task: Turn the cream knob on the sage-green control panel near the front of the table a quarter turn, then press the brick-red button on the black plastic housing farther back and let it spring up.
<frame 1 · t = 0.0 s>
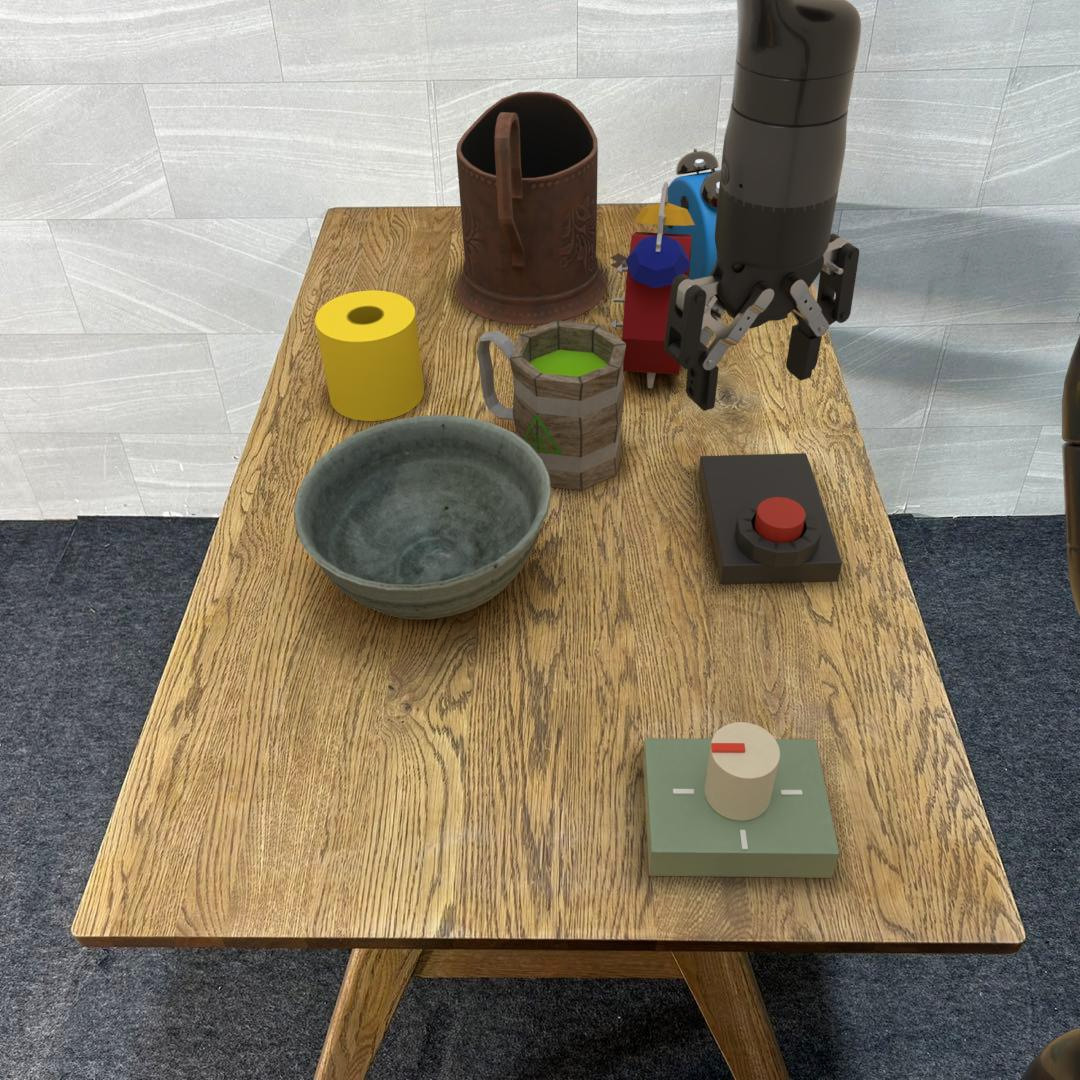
hand: (750, 389, 78), 19 cm above the table, tool pointing down, fingers open, 8 cm apart
alarm clock: (700, 284, 127), on the table
dial panel: (732, 817, 72), on the table
start button: (779, 519, 88), point 4 cm above the table, slide at 0.1 cm
button box: (764, 524, 94), on the table
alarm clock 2: (643, 364, 114), on the table
mug: (548, 449, 104), on the table
bowl: (433, 580, 90), on the table
dial knob: (741, 770, 68), point 6 cm above the table, hinge at 0.0°
yellow toilet paper roll: (377, 394, 111), on the table
tea glass holder: (528, 297, 126), on the table
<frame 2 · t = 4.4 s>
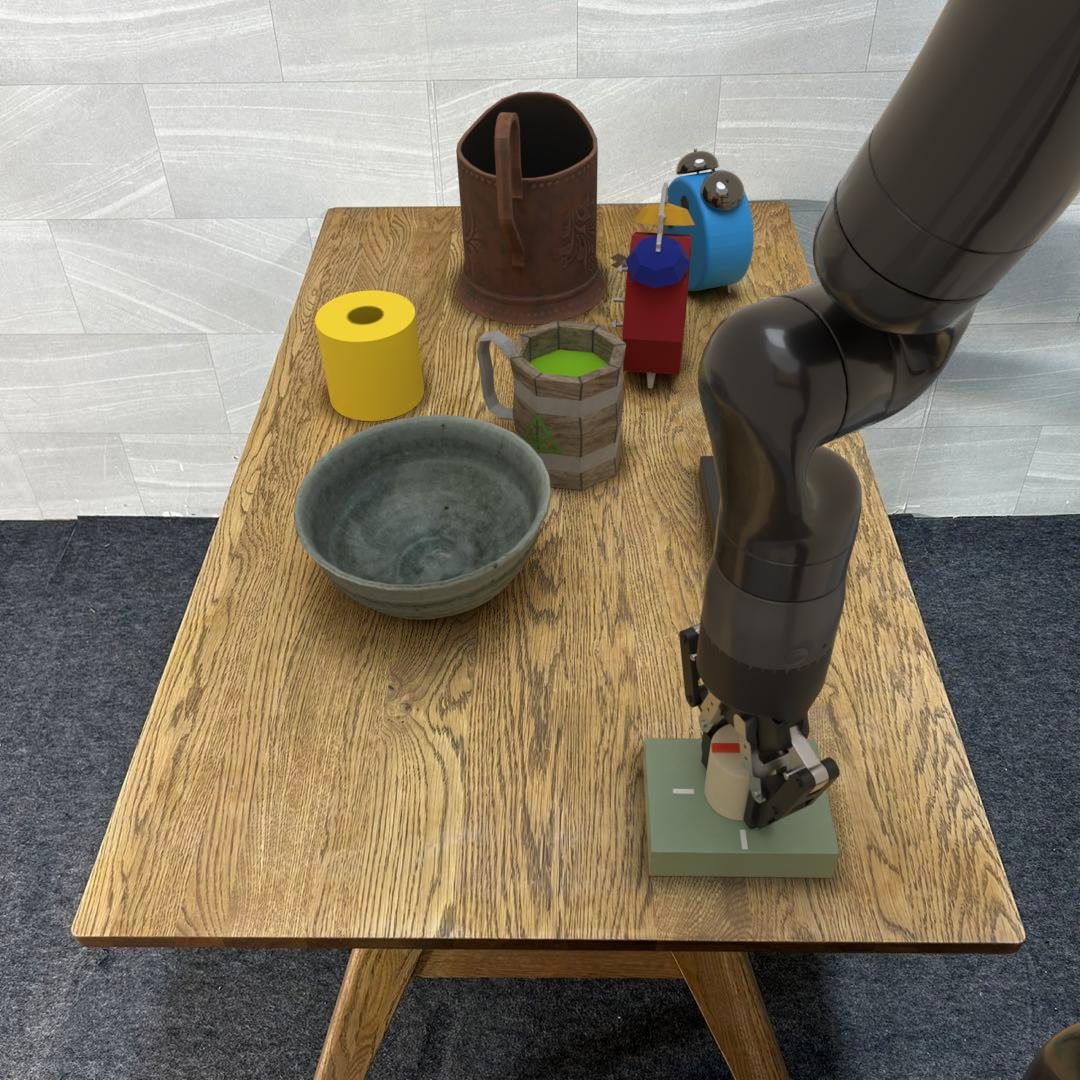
hand: (737, 789, 70), 3 cm above the table, tool pointing down, fingers closed on dial knob, 4 cm apart
dial knob: (741, 770, 68), point 6 cm above the table, hinge at 0.0°, touching gripper
everything else where it was.
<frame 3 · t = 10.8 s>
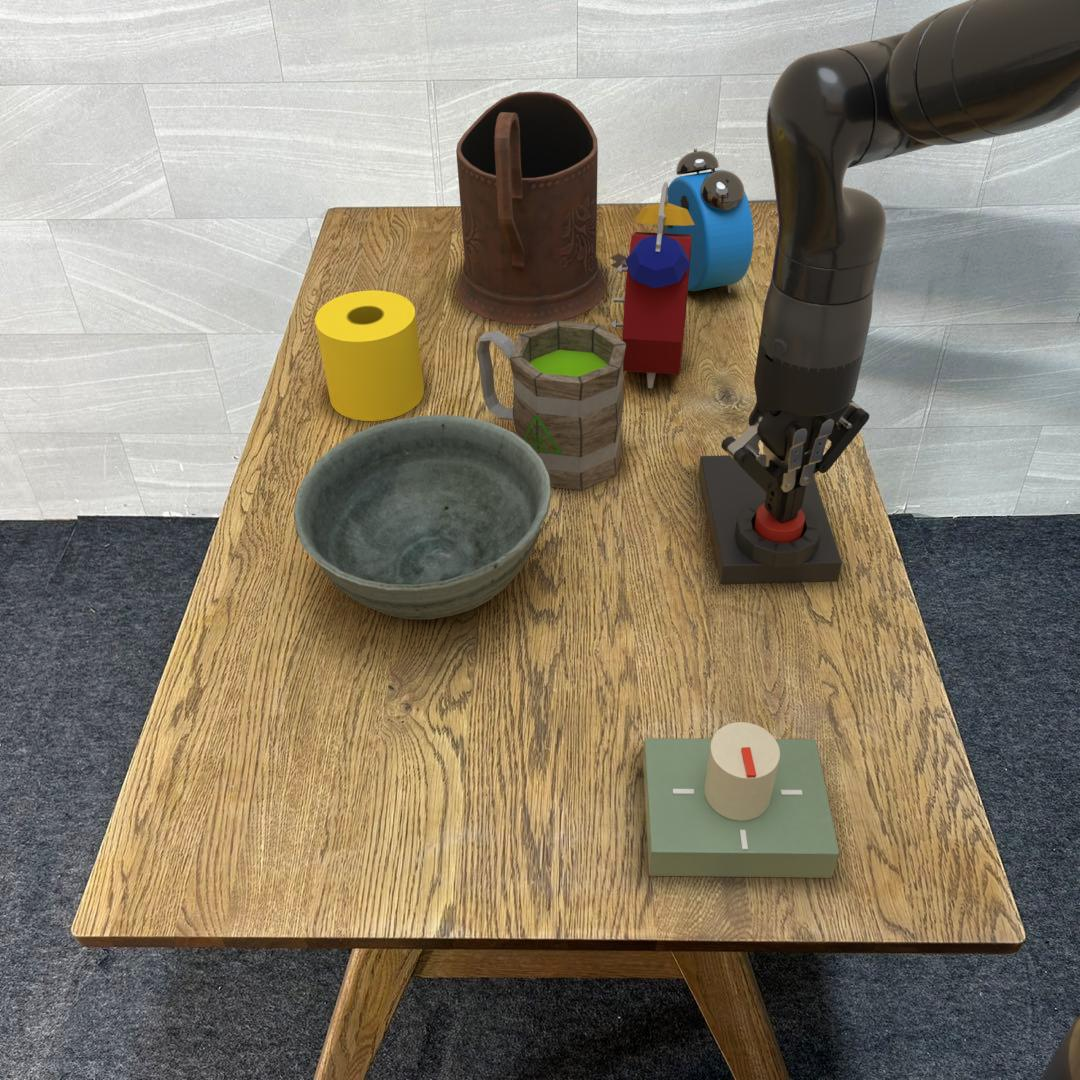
hand: (781, 515, 88), 5 cm above the table, tool pointing down, fingers closed
start button: (779, 523, 88), point 4 cm above the table, slide at -0.3 cm, touching gripper
dial knob: (741, 770, 68), point 6 cm above the table, hinge at 93.5°
everything else where it was.
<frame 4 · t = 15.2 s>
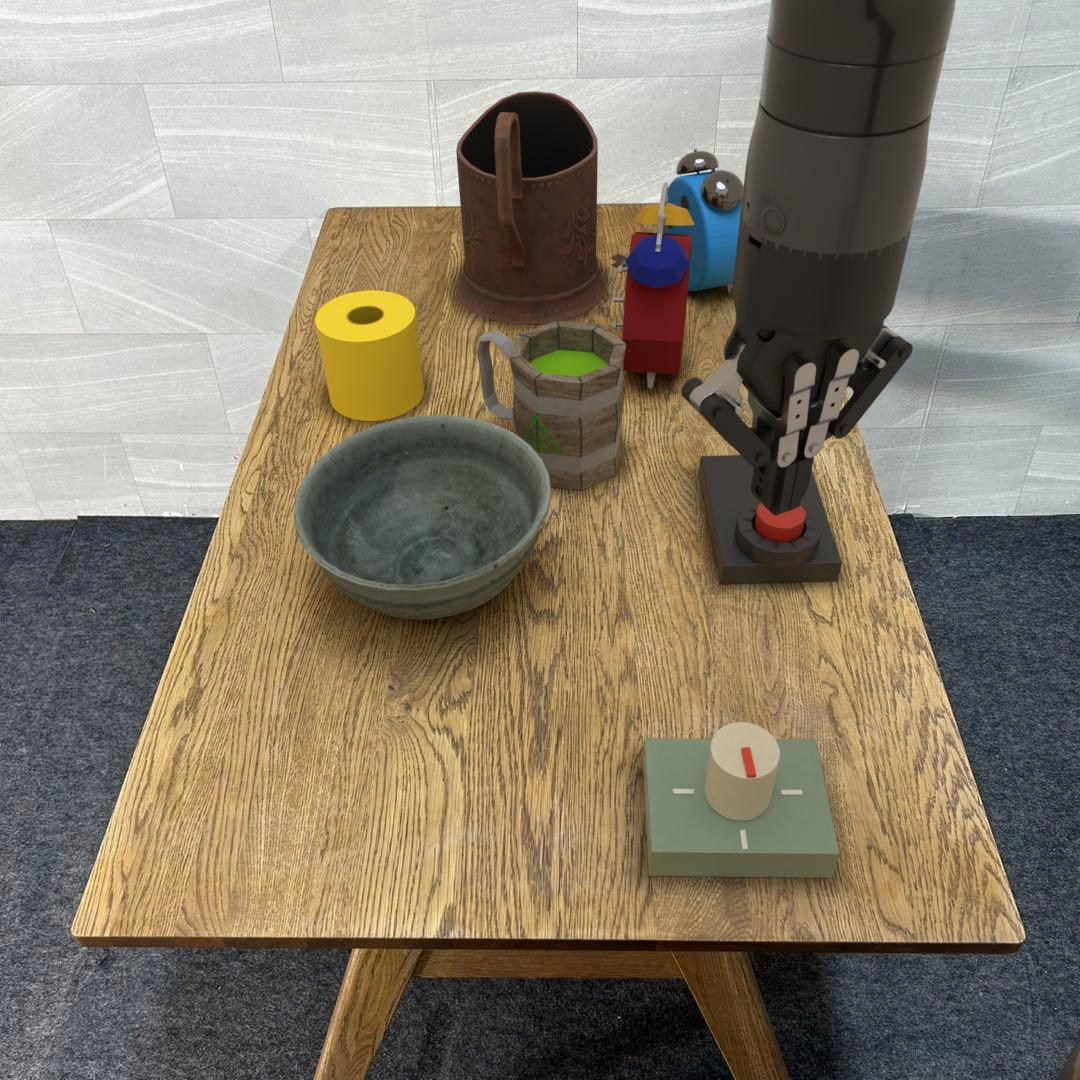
hand: (776, 503, 58), 25 cm above the table, tool pointing down, fingers closed
start button: (779, 519, 88), point 4 cm above the table, slide at 0.1 cm
everything else where it was.
at the end: dial knob at +94° (first picture: +0°); start button pushed in 1.0 cm at the most during the clip, back to where it started at the end; start button slide at 0.1 cm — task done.
